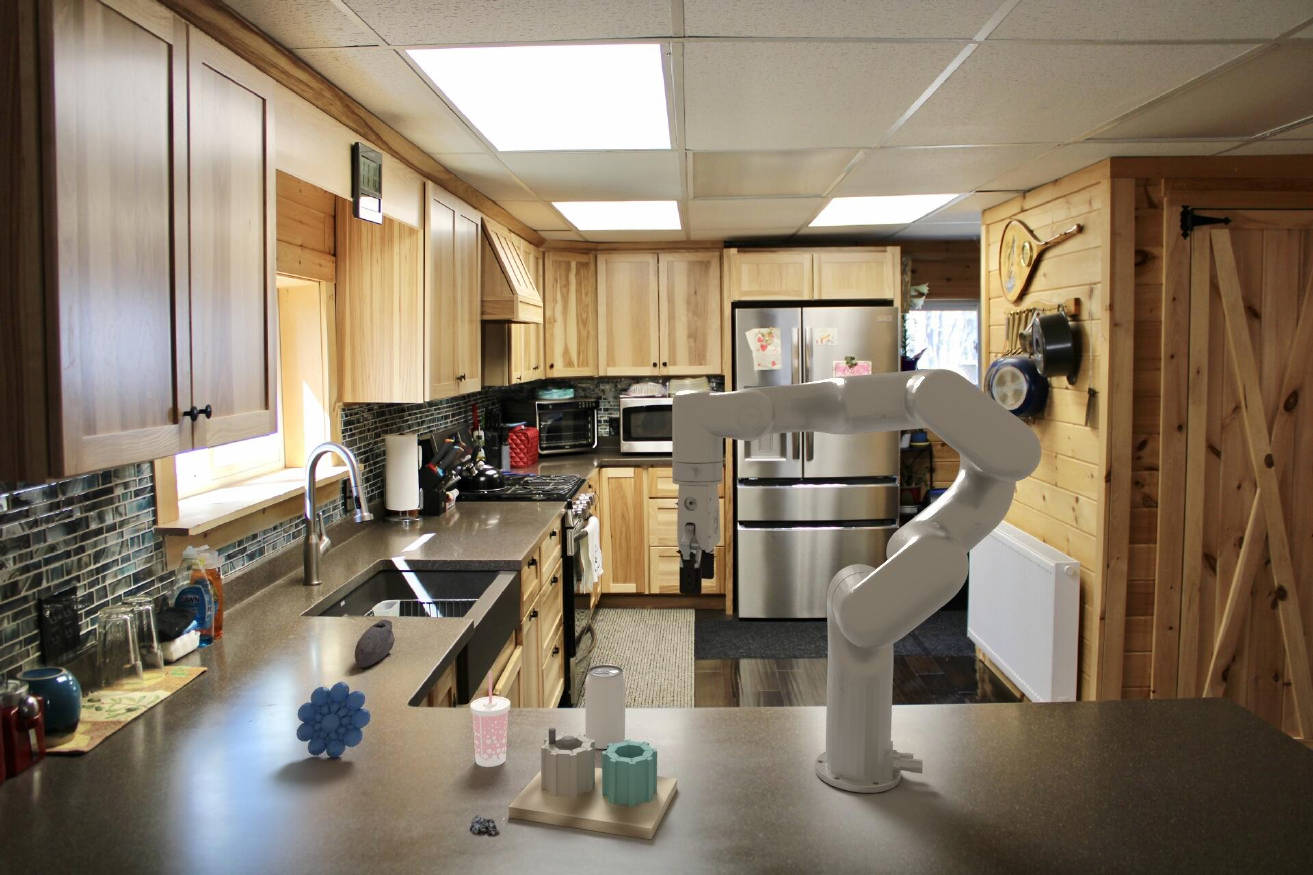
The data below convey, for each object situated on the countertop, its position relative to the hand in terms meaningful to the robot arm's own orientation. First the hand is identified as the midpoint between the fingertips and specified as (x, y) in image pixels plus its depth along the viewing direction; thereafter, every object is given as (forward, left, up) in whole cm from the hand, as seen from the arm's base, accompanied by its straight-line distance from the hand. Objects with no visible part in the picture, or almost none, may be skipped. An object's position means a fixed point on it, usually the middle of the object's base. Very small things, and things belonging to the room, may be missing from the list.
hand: (697, 585), depth 128 cm
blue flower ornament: (+55, +12, -28) cm, 63 cm away
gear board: (+11, +15, -28) cm, 33 cm away
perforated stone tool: (+75, -28, -28) cm, 85 cm away
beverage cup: (+31, +7, -28) cm, 43 cm away
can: (+16, -4, -28) cm, 33 cm away
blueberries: (+23, +25, -29) cm, 44 cm away
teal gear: (+6, +14, -27) cm, 31 cm away
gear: (+16, +14, -27) cm, 34 cm away
